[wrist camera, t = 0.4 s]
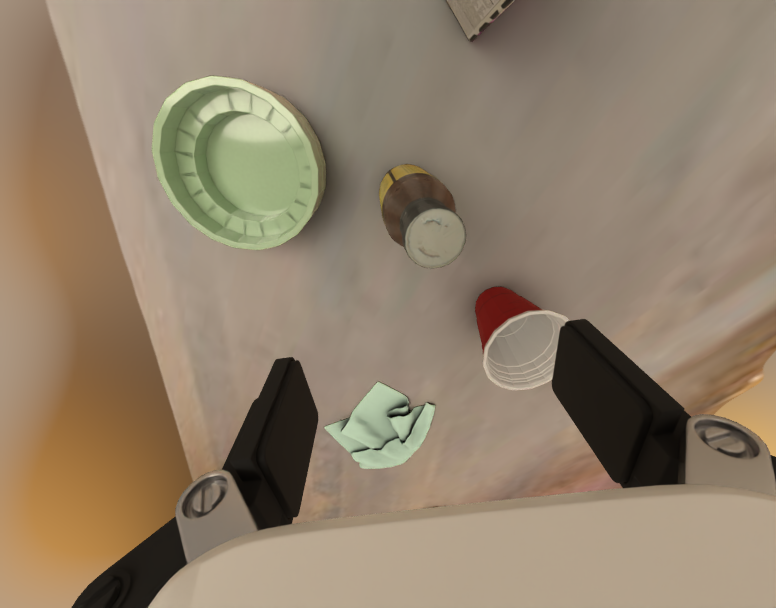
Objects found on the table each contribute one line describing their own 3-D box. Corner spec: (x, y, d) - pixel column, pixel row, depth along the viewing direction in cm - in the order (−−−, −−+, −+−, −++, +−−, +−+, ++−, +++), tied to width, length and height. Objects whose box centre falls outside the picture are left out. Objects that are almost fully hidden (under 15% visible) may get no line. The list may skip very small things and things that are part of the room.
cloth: (359, 473, 64) (359, 485, 62) (307, 404, 54) (304, 415, 52) (455, 447, 61) (458, 459, 59) (418, 367, 51) (420, 378, 49)
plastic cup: (545, 310, 46) (594, 363, 36) (479, 345, 49) (507, 404, 38) (515, 253, 42) (561, 295, 31) (445, 295, 44) (465, 346, 34)
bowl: (158, 105, 32) (116, 100, 27) (300, 68, 31) (284, 55, 26) (226, 244, 40) (202, 262, 35) (342, 219, 39) (337, 233, 33)
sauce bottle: (399, 227, 39) (415, 304, 22) (368, 185, 37) (359, 235, 19) (442, 195, 38) (497, 252, 20) (413, 148, 35) (447, 169, 18)
